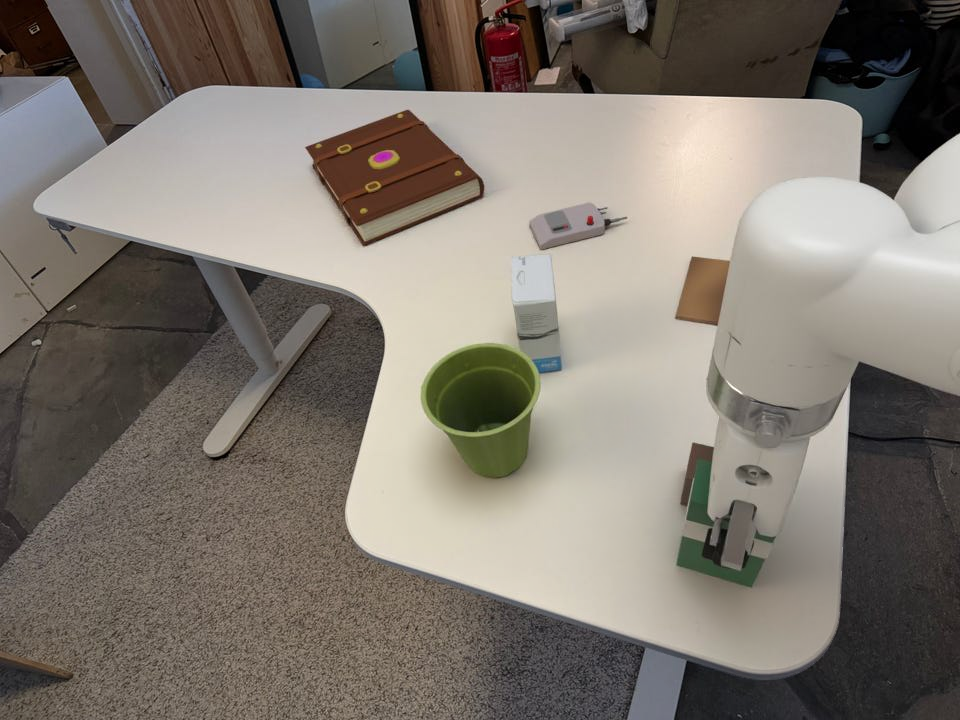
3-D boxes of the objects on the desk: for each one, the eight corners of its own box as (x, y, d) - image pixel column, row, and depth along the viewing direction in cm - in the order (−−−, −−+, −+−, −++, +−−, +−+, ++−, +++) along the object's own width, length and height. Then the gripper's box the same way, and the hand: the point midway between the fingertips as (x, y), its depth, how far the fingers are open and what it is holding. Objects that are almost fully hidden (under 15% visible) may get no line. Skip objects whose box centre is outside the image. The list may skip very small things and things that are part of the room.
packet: (693, 475, 59) (698, 455, 48) (767, 493, 57) (790, 477, 45) (675, 564, 57) (675, 566, 46) (750, 587, 55) (770, 594, 43)
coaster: (786, 271, 79) (787, 267, 78) (779, 334, 72) (780, 331, 71) (691, 259, 83) (691, 256, 83) (675, 318, 76) (675, 315, 76)
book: (362, 247, 97) (352, 221, 93) (311, 167, 117) (302, 143, 114) (487, 196, 101) (482, 169, 98) (417, 128, 122) (411, 103, 118)
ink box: (562, 371, 73) (557, 299, 65) (521, 375, 74) (511, 304, 65) (557, 322, 79) (551, 250, 70) (519, 326, 79) (509, 255, 71)
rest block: (772, 490, 59) (783, 462, 55) (768, 527, 57) (779, 500, 53) (687, 469, 62) (692, 442, 58) (680, 504, 59) (685, 477, 56)
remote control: (518, 228, 94) (516, 212, 92) (614, 204, 94) (615, 188, 92) (528, 253, 89) (526, 236, 87) (630, 228, 90) (631, 211, 88)
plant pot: (535, 398, 71) (525, 331, 63) (560, 484, 63) (553, 419, 55) (436, 420, 71) (415, 356, 63) (449, 509, 63) (426, 448, 55)
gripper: (839, 519, 30) (768, 636, 43) (845, 293, 41) (786, 443, 54) (685, 481, 33) (662, 602, 46) (727, 278, 43) (698, 424, 56)
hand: (729, 515), depth 50 cm, fingers open, 7 cm apart
